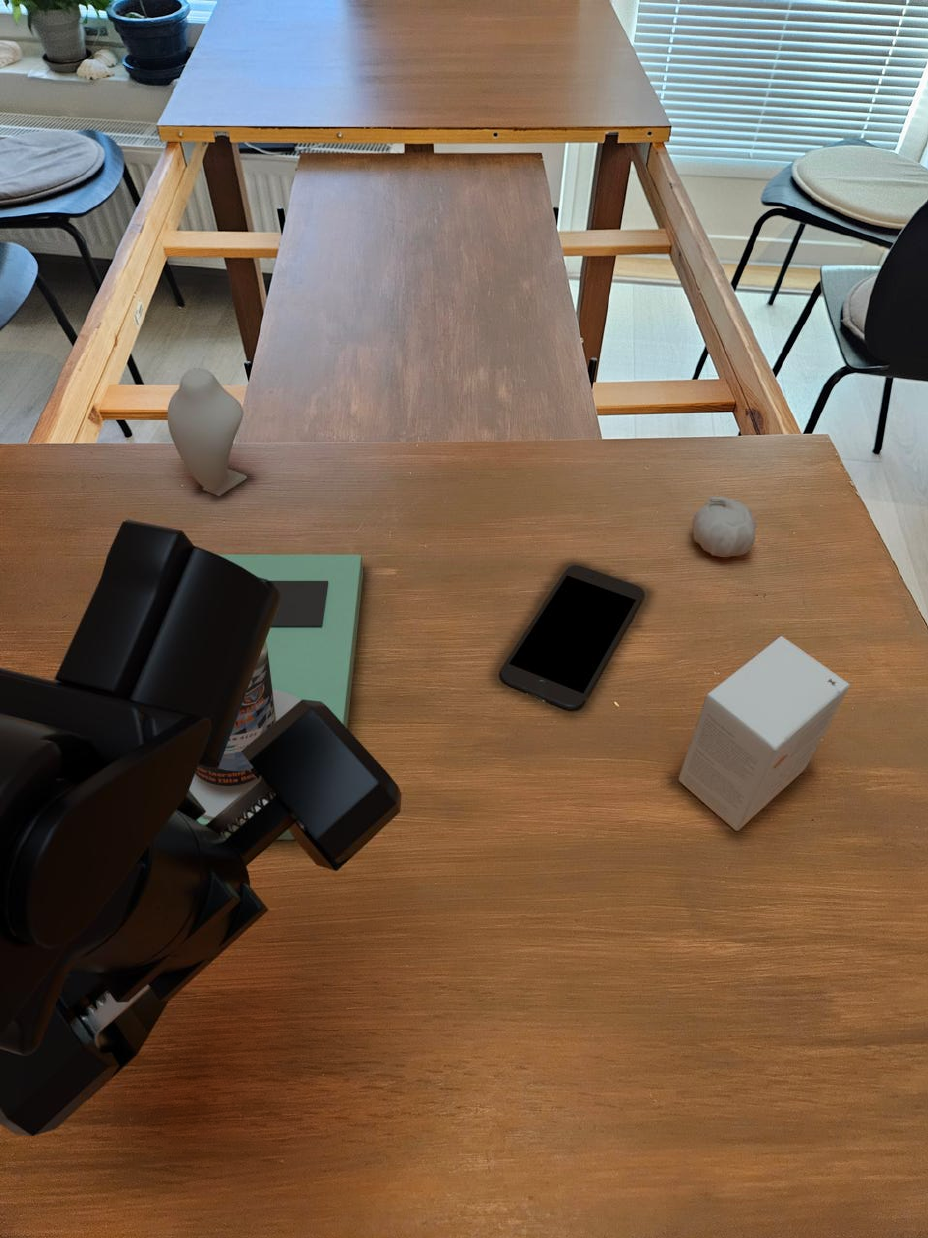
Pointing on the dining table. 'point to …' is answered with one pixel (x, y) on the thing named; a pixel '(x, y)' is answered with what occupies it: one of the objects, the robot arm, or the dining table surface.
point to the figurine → (205, 429)
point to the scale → (302, 644)
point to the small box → (760, 730)
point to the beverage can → (245, 729)
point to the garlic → (724, 527)
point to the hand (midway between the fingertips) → (239, 916)
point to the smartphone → (572, 638)
